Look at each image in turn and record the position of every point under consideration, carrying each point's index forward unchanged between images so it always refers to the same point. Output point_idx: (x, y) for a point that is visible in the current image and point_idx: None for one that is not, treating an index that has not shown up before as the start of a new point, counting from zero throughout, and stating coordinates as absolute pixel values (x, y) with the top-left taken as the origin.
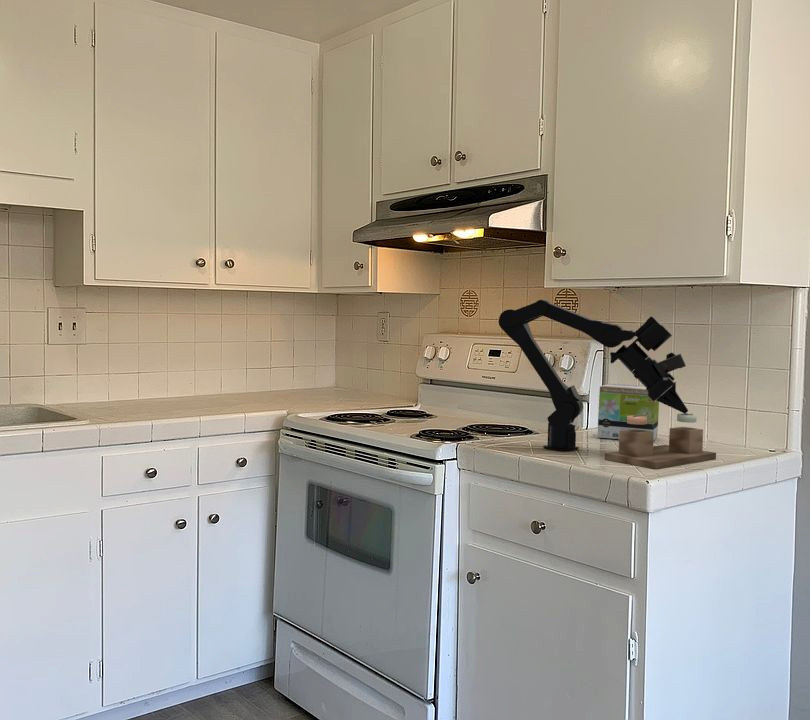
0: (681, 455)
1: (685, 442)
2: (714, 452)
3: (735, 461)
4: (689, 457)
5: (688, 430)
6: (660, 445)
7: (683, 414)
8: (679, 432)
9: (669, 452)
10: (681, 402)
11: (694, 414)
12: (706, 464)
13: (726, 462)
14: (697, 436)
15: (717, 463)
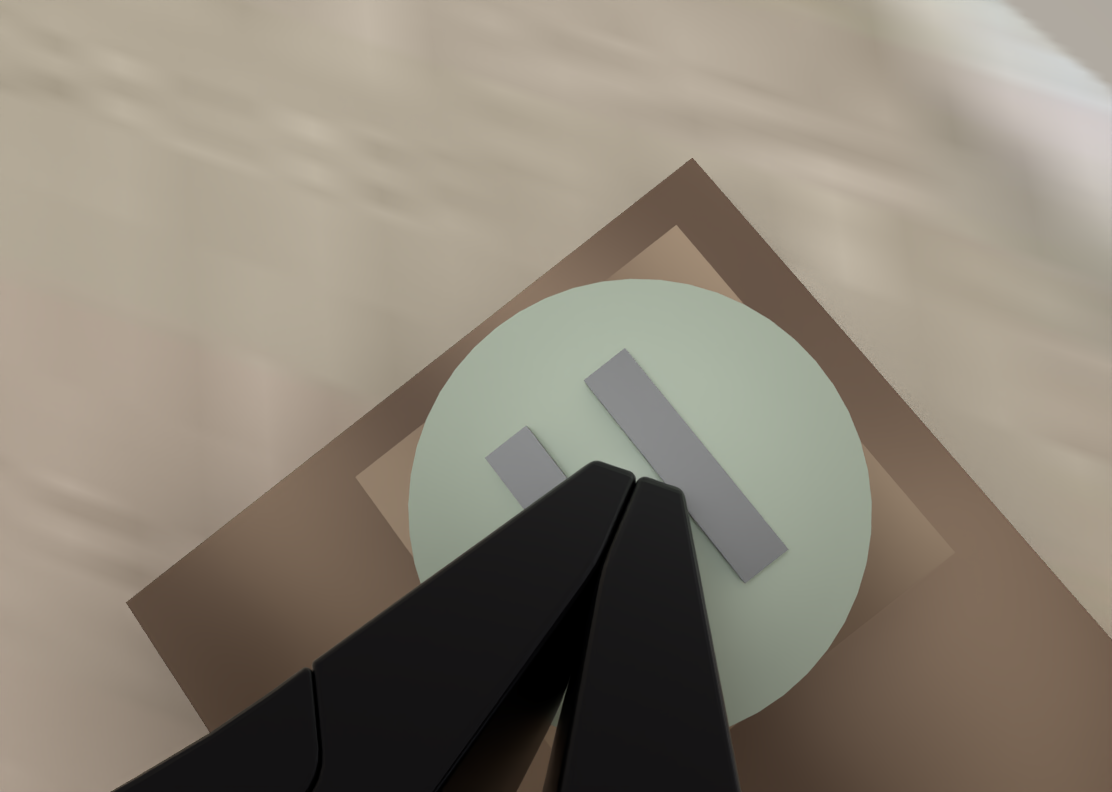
0: (983, 692)
1: None
2: (678, 172)
3: (816, 20)
4: (1098, 625)
5: (877, 555)
6: (193, 692)
7: None
8: None
9: (757, 776)
10: (728, 750)
11: (564, 294)
12: (1080, 420)
13: (899, 140)
14: None
15: (985, 265)
